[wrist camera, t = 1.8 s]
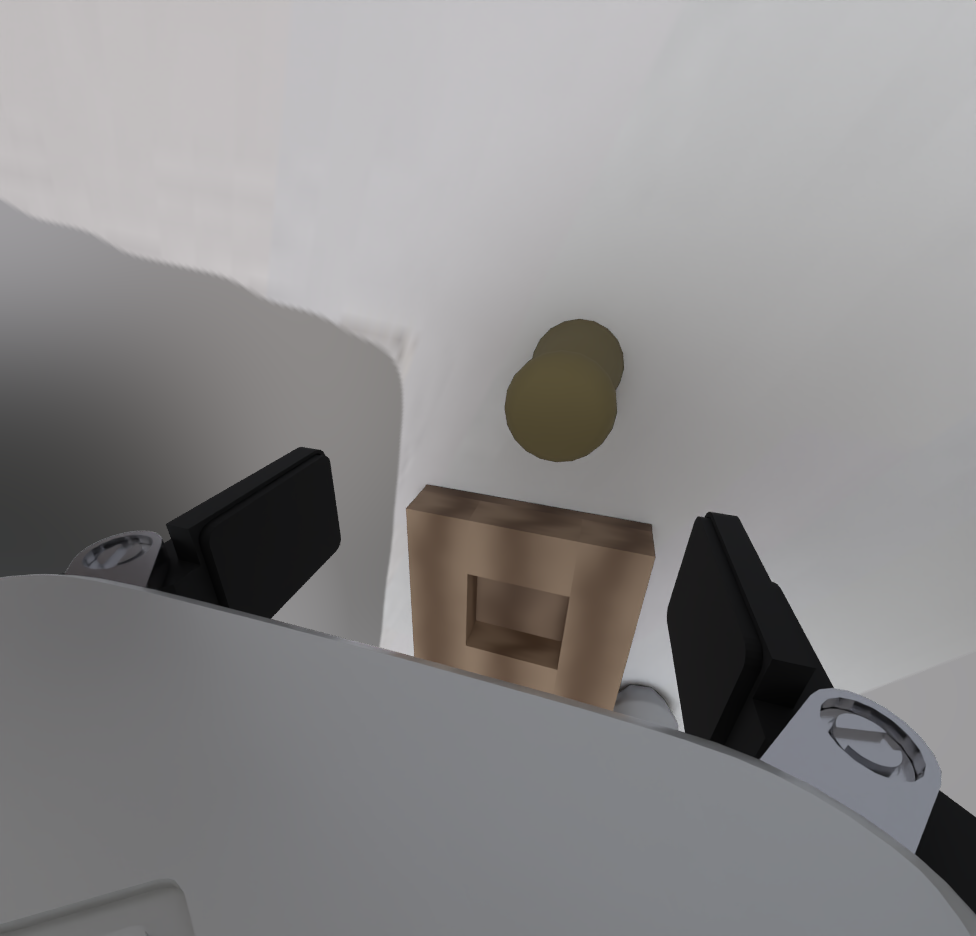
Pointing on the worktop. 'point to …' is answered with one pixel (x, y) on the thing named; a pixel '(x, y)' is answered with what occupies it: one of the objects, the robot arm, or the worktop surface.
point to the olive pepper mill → (566, 392)
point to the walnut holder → (526, 591)
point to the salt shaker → (645, 706)
